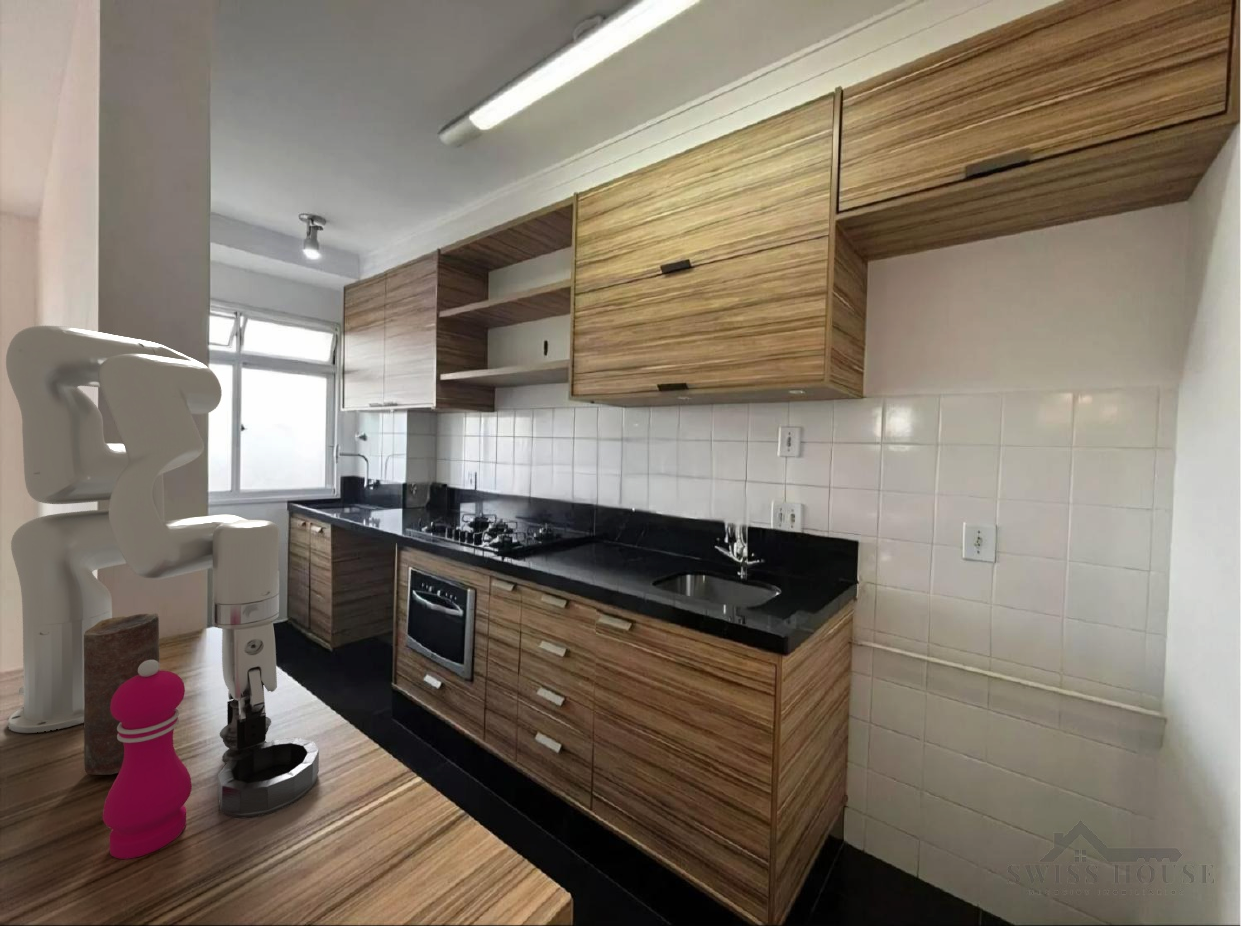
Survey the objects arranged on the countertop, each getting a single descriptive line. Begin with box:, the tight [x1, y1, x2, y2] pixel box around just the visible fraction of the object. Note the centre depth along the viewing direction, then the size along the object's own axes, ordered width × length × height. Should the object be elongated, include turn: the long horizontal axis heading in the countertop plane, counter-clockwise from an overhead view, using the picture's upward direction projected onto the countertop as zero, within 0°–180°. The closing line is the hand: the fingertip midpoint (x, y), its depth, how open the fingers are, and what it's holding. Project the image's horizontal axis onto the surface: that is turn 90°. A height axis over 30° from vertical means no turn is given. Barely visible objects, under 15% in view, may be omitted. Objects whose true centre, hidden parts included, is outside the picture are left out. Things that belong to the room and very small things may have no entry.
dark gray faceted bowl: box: [217, 737, 320, 819], centre depth 65 cm, size 10×10×4 cm
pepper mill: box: [102, 660, 193, 860], centre depth 56 cm, size 7×7×20 cm
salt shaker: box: [219, 678, 272, 763], centre depth 72 cm, size 6×6×12 cm
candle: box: [83, 612, 160, 776], centre depth 68 cm, size 8×7×20 cm
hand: (246, 733), depth 72 cm, fingers closed on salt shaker, 5 cm apart
